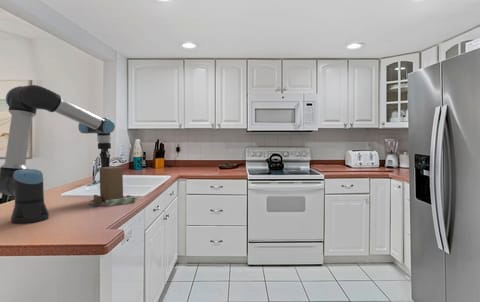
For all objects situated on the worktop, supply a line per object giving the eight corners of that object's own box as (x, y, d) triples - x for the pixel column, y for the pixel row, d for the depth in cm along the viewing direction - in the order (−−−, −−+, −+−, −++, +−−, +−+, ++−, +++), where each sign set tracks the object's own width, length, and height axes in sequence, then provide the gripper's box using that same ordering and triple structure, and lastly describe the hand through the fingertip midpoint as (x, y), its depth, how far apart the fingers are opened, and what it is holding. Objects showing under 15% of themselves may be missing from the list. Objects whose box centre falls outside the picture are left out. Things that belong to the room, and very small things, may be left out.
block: (115, 198, 212) (114, 166, 211) (123, 199, 206) (122, 166, 205) (99, 200, 205) (98, 167, 204) (108, 202, 198) (107, 168, 197)
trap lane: (95, 207, 184) (95, 202, 184) (83, 201, 204) (82, 196, 204) (143, 201, 201) (143, 196, 201) (127, 195, 221) (127, 190, 220)
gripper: (113, 142, 210) (115, 180, 211) (107, 142, 220) (108, 178, 221) (101, 143, 205) (103, 181, 206) (94, 142, 215) (96, 179, 216)
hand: (105, 180), depth 214 cm, fingers closed
